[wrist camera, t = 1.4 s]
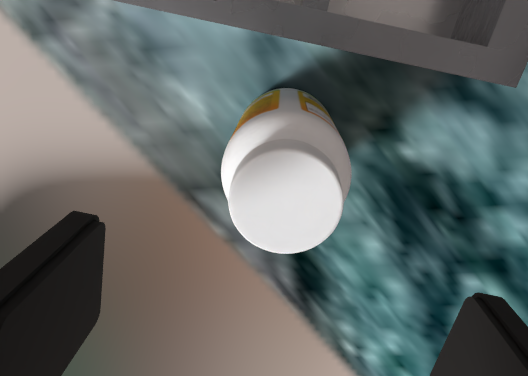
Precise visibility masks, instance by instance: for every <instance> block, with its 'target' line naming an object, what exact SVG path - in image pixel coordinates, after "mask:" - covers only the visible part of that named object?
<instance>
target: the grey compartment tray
mask: <svg viewBox="0 0 528 376" xmlns="http://www.w3.org/2000/svg"><path fill="white" fill-rule="evenodd" d="M114 1H118V2H123V3H128V4H132V5H137V6H141V7H146V8H151V9H155V10H160V11H164V12H169V13H174V14H178V15H183V16H188V17H192V18H197V19H201V20H206V21H211V22H215V23H220V24H224V25H229V26H234V27H238V28H243V29H247V30H252V31H257V32H261V33H266V34H271V35H275V36H280V37H284V38H289V39H294V40H298V41H303V42H307V43H312V44H317V45H321V46H326V47H330V48H335V49H340V50H344V51H349V52H354V53H358V54H363V55H367V56H372V57H377V58H381V59H386V60H390V61H395V62H400V63H404V64H409V65H413V66H418V67H423V68H427V69H432V70H437V71H441V72H446V73H450V74H455V75H460V76H464V77H469V78H473V79H478V80H483V81H487V82H492V83H496V84H501V85H506V86H510V87H515V88H516V87H517V85H518V82H519V80H520V78H521V76H522V73H523V71H524V69H525V67H526V64H527V62H528V0H114Z"/></svg>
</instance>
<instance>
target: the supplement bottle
mask: <svg viewBox="0 0 528 376" xmlns="http://www.w3.org/2000/svg"><path fill="white" fill-rule="evenodd" d="M221 179H222V185H223V189H224V192H225V195H226V197H227V199H228V204H229V211H230V215H231V218H232V220H233V223H234V225H235V226H236V228H237V229H238V231H239V232H240V233H241V234H242V235H243V236H244V237H245V238H246V239H247V240H248V241H249V242H251V243H252V244H254V245H255V246H257V247H259V248H261V249H264V250H267V251H270V252H274V253H282V254H290V253H298V252H302V251H306V250H308V249H311V248H313V247H315V246H317V245H318V244H320V243H321V242H323V241H324V240H325V239H326V238H328V237H329V235H330V234H331V233H332V232H333V231H334V229H335V228H336V226H337V224H338V222H339V220H340V218H341V215H342V211H343V205H344V201H345V199H346V197H347V194H348V191H349V188H350V183H351V163H350V158H349V155H348V152H347V149H346V146H345V144H344V142H343V140H342V138H341V136H340V134H339V132H338V130H337V128H336V126H335V125H334V123H333V120H332V119H331V117H330V115H329V113H328V112H327V110H326V109H325V107H324V106H323V105H322V104H321V103H320V102H319V101H318V100H317V99H316V98H314V97H313V96H312V95H310V94H308V93H306V92H304V91H301V90H297V89H292V88H281V89H275V90H272V91H269V92H266V93H264V94H262V95H261V96H259V97H258V98H256V99H255V100H254V101H253V102H252V103H251V104H250V105H249V106H248V107H247V109H246V110H245V112H244V113H243V115H242V117H241V119H240V121H239V123H238V125H237V127H236V129H235V131H234V133H233V135H232V137H231V139H230V141H229V143H228V145H227V147H226V150H225V153H224V156H223V160H222V166H221Z"/></svg>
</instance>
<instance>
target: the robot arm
mask: <svg viewBox="0 0 528 376" xmlns="http://www.w3.org/2000/svg"><path fill="white" fill-rule="evenodd" d="M104 241H105V224H104V223H103V222H99V217H98V216H97V215H92V214H87V213H83V212H77V211H73V212H71V213H69V214H68V215H67V216H66V217H65V218H63V219H62V220H61V221H59V222H58V223H57V224H56V225H55V226H53V227H52V228H51V229H49V230H48V231H47V232H46V233H44V234H43V235H42V236H41V237H39V238H38V239H37V240H36V241H35V242H33V243H32V244H31V245H30V246H28V247H27V248H26V249H25V250H23V251H22V252H21V253H20V254H18V255H17V256H16V257H15V258H13V259H12V260H11V261H10V262H8V263H7V264H6V265H5V266H3V267H2V268H1V269H0V376H61V375H62V374H63V372H64V371H65V369H66V368H67V366H68V364H69V363H70V362H71V360H72V359H73V357H74V355H75V354H76V352H77V351H78V350H79V348H80V346H81V345H82V343H83V342H84V340H85V339H86V338H87V336H88V335H89V333H90V331H91V330H92V329H93V327H94V326H95V324H96V322H97V320H98V317H99V314H100V305H101V291H102V274H103V258H104V243H105V242H104ZM430 376H528V327H527V325H526V324H525V323H524V322H523V321H522V320H521V318H520V317H519V316H518V315H517V314H516V313H515V311H514V310H513V309H512V308H511V307H510V306H509V304H508V303H507V302H506V301H505V300H504V299H503V298H502V297H498V296H493V295H488V294H483V293H475V294H474V295H473V296H472V297H468V298H466V299H465V301H464V303H463V305H462V307H461V309H460V312H459V314H458V316H457V318H456V320H455V322H454V324H453V327H452V329H451V331H450V333H449V335H448V337H447V339H446V342H445V344H444V346H443V348H442V350H441V352H440V354H439V357H438V359H437V361H436V363H435V365H434V367H433V369H432V372H431V374H430Z"/></svg>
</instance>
